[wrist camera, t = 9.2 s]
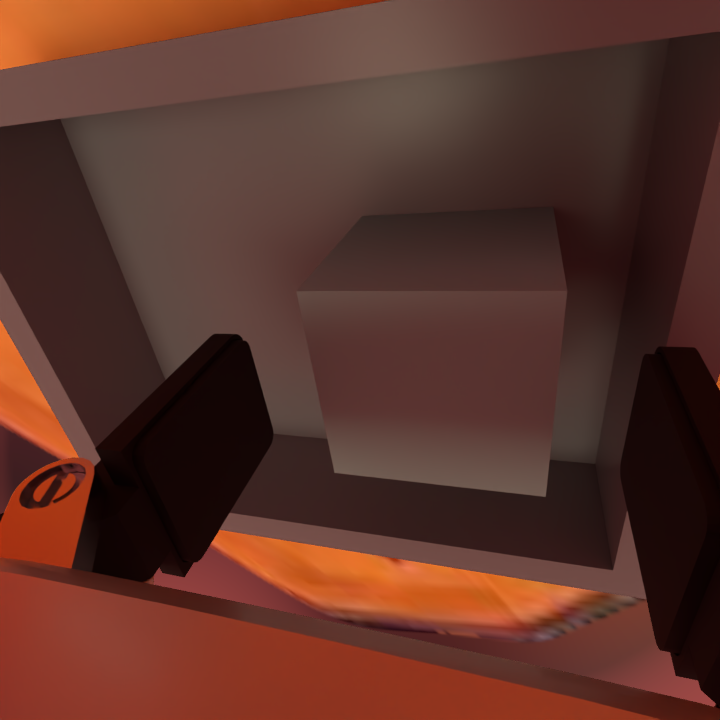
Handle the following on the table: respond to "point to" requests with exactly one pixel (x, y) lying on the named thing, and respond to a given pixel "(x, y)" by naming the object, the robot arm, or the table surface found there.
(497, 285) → the gray cube
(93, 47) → the table surface
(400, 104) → the tote
